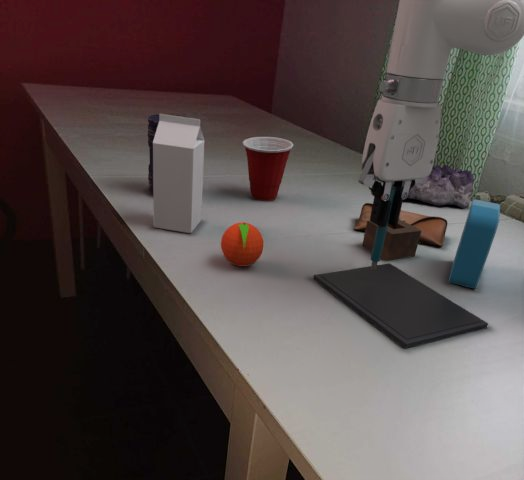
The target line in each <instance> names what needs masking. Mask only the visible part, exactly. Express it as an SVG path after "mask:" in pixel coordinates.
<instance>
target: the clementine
mask: <svg viewBox="0 0 524 480" xmlns="http://www.w3.org/2000/svg"><path fill="white" fill-rule="evenodd" d="M264 246H265V244H264V237H263V235H262V233H261V232H260V230H259V229H258V228H257V227H256V226H254V225H253V224H251V223H249V222H243V221H242V222H236V223H234V224H231V225H230V226H228V227H227V229H226V230H224V232H223V234H222V237H221V241H220V249H221V252H222V255H223V256H224V258H225V259H226V260H227V261H228V262H229V263H231V264H232V265H233V266H238V267H248V266H251V265H253V264H255V263H256V262H258V260H259V259H260V258H261V256H262V254H263V251H264Z"/></svg>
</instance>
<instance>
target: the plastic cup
mask: <svg viewBox="0 0 524 480" xmlns="http://www.w3.org/2000/svg"><path fill="white" fill-rule="evenodd" d="M242 145H243V147H244V148H245V153H246V158H247V159H246V162H247V171H248V172H247V173H248V181H249V193H250V196H251V198H252V199H254V200H257V201H262V202H263V201H264V202H271V201H275V200H276V199H277V197H278V195H279V190H280V188H281V184H282V181H283V177H284V174H285V171H286V167H287V163H288V159H289V156H290V154H291V151H292V149H293V147H294V144H293V142H292V141H290V140H288V139H285V138H281V137H274V136H254V137H250V138H246V139H244V140H243V141H242Z"/></svg>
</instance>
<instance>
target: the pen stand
mask: <svg viewBox="0 0 524 480" xmlns="http://www.w3.org/2000/svg"><path fill="white" fill-rule="evenodd" d="M377 226H378V225H376V224H374V223H373V222H371V221H370V220H368V221H367V225H366V230H365V231H364V235H363V240H362V243H361V244H362V245H361V247H363V248H365V249H367V250H368V251H370V252H371V253H372V250H373V245H374V240H375V235H376V231H377ZM420 235H421V230H419V229H418V228H416V227H414V226H412V225H410V224H408V223H406V222H404V221H402V220H400V219H399V220H398V224H397V225H396V226H392V225H391V224H389V223H388V227H387V231H386V236H385V240H384V245H383V249H382V254H381V259H383V260H385V261H392V260H398V259H404V258H406V259H407V258H413V257H415V256H416V252H417V249H418V245H419V243H418V242H419V238H420Z"/></svg>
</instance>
